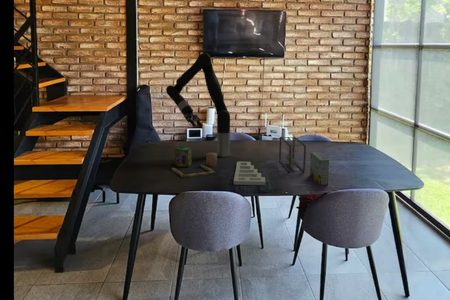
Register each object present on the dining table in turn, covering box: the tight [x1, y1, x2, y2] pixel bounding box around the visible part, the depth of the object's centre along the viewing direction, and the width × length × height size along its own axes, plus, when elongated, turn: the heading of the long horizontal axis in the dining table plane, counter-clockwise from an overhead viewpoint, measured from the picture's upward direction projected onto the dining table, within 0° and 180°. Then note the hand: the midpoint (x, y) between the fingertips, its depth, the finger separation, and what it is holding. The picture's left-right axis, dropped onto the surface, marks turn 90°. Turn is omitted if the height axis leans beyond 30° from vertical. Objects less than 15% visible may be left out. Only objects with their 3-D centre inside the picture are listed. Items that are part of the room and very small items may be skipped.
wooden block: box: [205, 152, 218, 168], centre depth 296 cm, size 7×7×8 cm
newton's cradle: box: [278, 136, 307, 173], centre depth 293 cm, size 30×10×18 cm, turn 5°
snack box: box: [309, 151, 330, 186], centre depth 263 cm, size 21×6×15 cm, turn 5°
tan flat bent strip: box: [171, 164, 217, 179], centre depth 281 cm, size 22×20×1 cm
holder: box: [233, 161, 266, 186], centre depth 276 cm, size 45×18×3 cm, turn 176°
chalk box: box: [174, 142, 192, 168], centre depth 295 cm, size 9×9×15 cm
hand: (198, 126), depth 305 cm, fingers open, 8 cm apart
